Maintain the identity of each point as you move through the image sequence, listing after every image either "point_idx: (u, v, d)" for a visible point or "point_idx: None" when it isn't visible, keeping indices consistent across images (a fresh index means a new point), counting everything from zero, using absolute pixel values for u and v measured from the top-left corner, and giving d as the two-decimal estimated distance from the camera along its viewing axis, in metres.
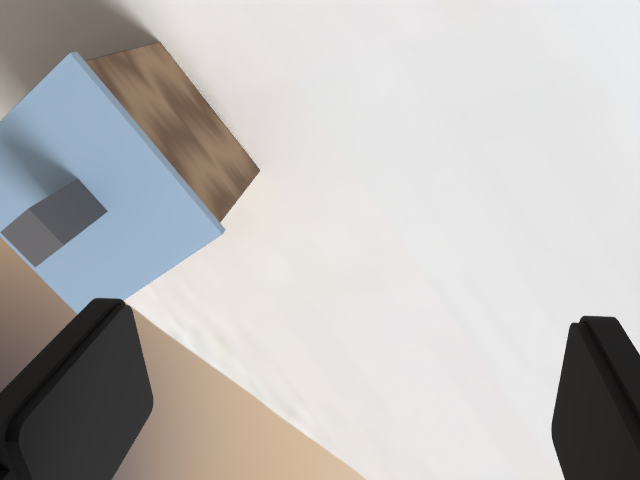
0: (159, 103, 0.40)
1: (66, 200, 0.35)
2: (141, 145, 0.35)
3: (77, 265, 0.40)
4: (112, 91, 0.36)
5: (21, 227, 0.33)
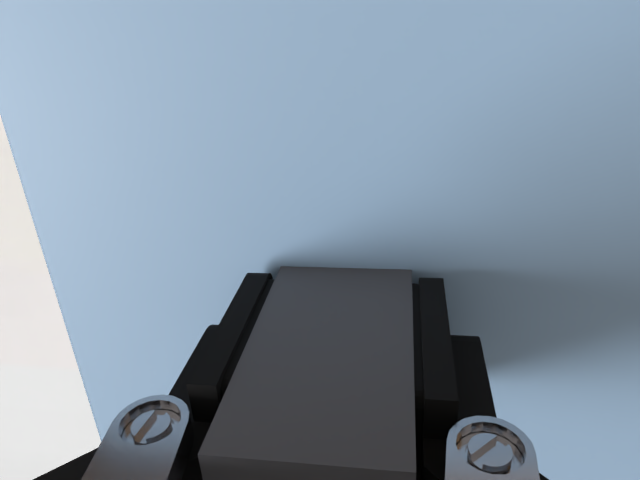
0: None
1: None
2: None
3: (191, 162, 0.11)
4: None
5: None
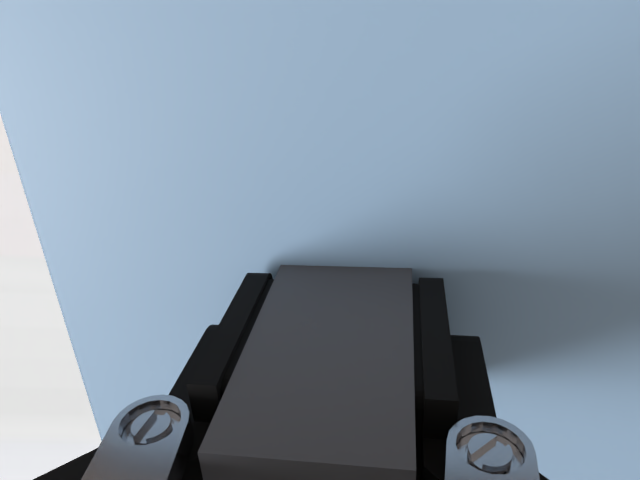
0: None
1: None
2: None
3: (191, 161, 0.11)
4: None
5: None
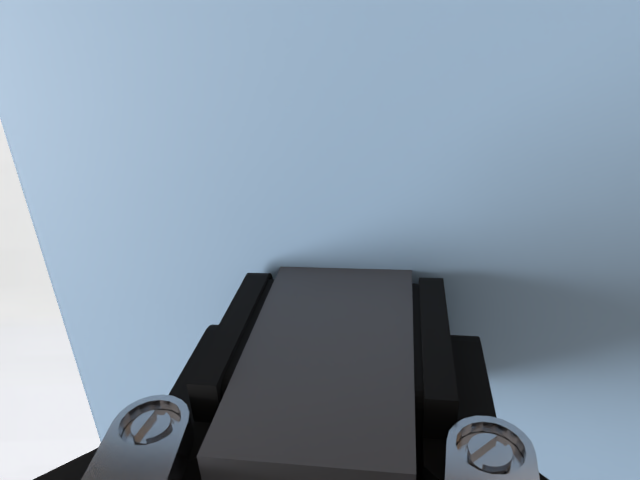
0: None
1: None
2: None
3: (190, 162, 0.11)
4: None
5: None
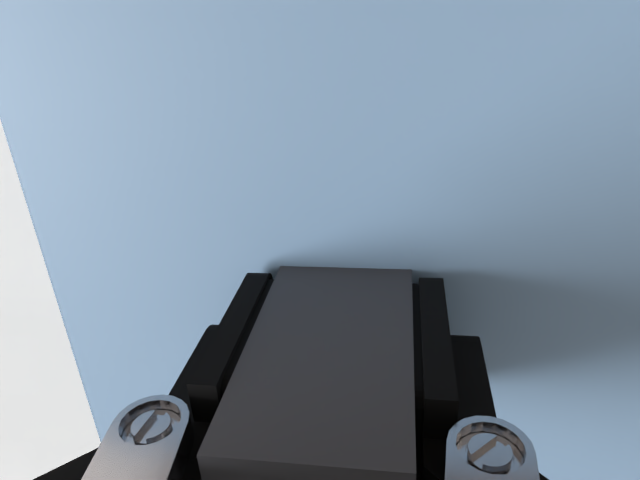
0: None
1: None
2: None
3: (190, 162, 0.11)
4: None
5: None
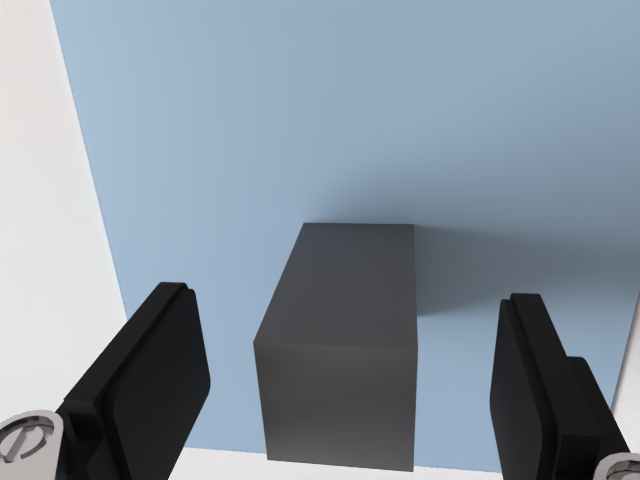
0: None
1: None
2: None
3: (231, 134, 0.14)
4: None
5: (383, 414, 0.10)
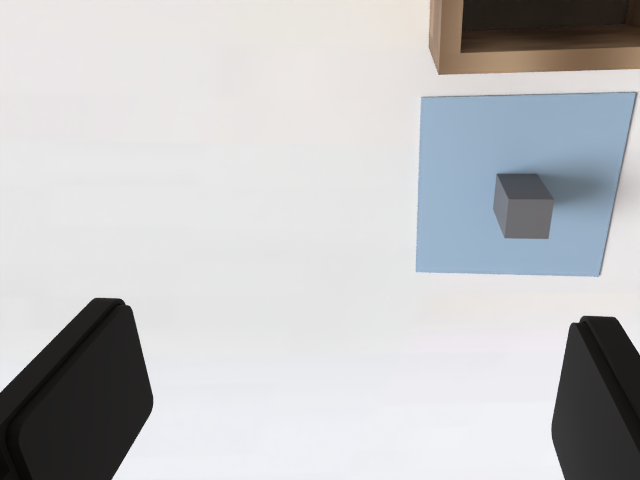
0: None
1: None
2: (511, 270, 0.45)
3: (475, 142, 0.41)
4: None
5: (542, 219, 0.37)
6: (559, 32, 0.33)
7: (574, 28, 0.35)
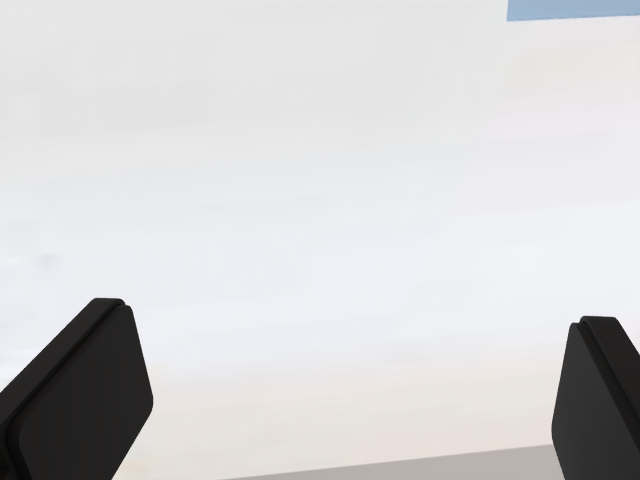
0: None
1: None
2: (626, 9, 0.37)
3: None
4: None
5: None
6: None
7: None
